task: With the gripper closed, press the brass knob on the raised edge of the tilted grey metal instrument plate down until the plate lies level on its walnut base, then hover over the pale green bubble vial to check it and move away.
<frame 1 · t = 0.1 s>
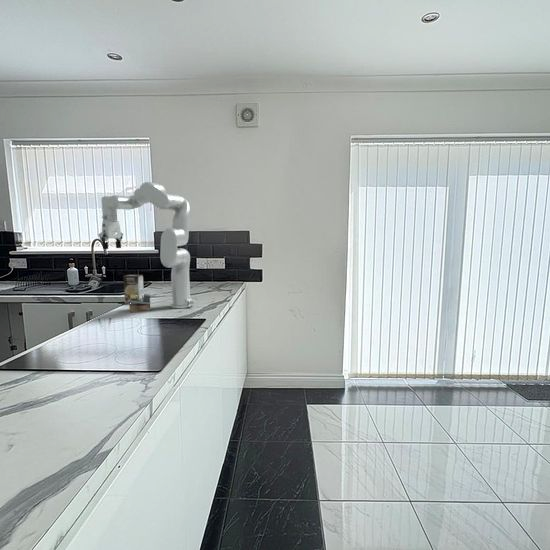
hand: (112, 248, 200), 31 cm above the worktop, tool pointing down, fingers open, 9 cm apart
instrument plate: (140, 298, 181), point 6 cm above the worktop, hinge at 12.0°
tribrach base: (140, 309, 182), on the worktop
coffee box: (134, 303, 200), on the worktop
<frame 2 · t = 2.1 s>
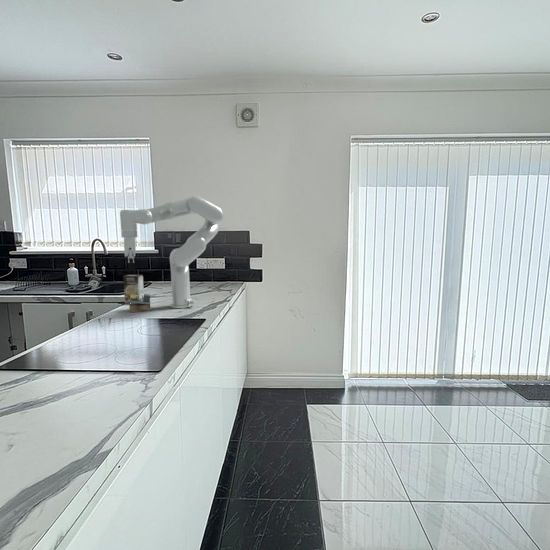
hand: (131, 269, 178), 21 cm above the worktop, tool pointing down, fingers open, 3 cm apart
nothing on the worktop moved.
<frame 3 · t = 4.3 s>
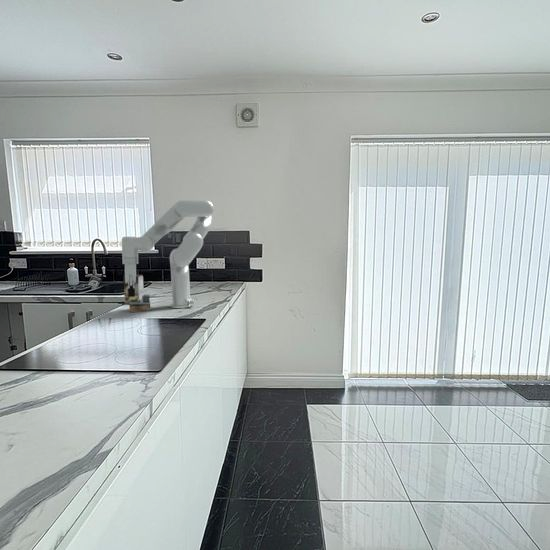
hand: (131, 296, 179), 8 cm above the worktop, tool pointing down, fingers closed
instrument plate: (140, 299, 181), point 6 cm above the worktop, hinge at 6.6°, touching gripper
everything else where it was.
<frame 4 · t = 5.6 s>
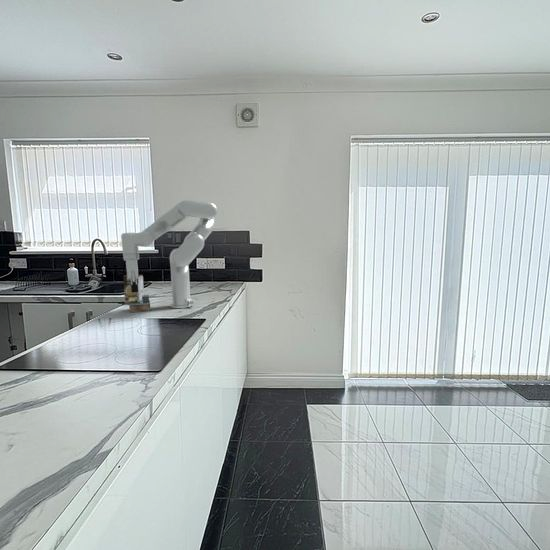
hand: (135, 292, 180), 10 cm above the worktop, tool pointing down, fingers closed
instrument plate: (139, 299, 181), point 5 cm above the worktop, hinge at 1.6°
everything else where it was.
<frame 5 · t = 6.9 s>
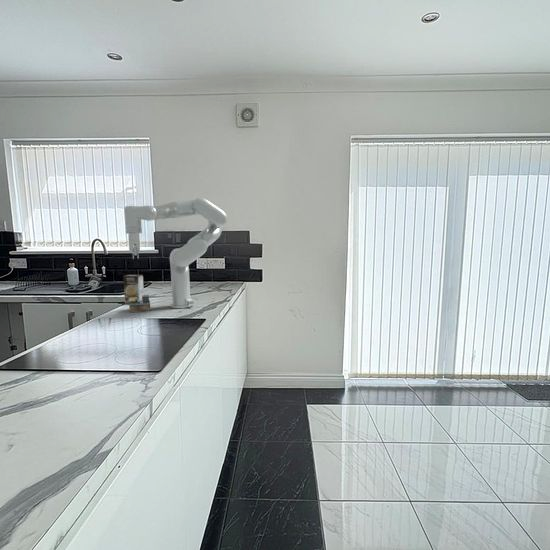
hand: (136, 266, 179), 23 cm above the worktop, tool pointing down, fingers closed
nothing on the worktop moved.
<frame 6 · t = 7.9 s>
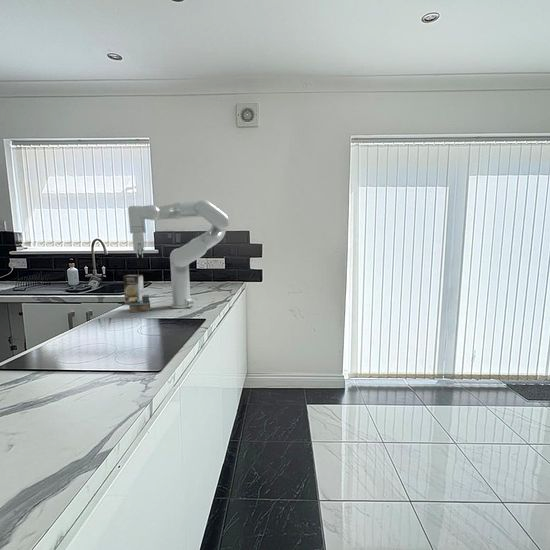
hand: (140, 265, 181), 23 cm above the worktop, tool pointing down, fingers closed
nothing on the worktop moved.
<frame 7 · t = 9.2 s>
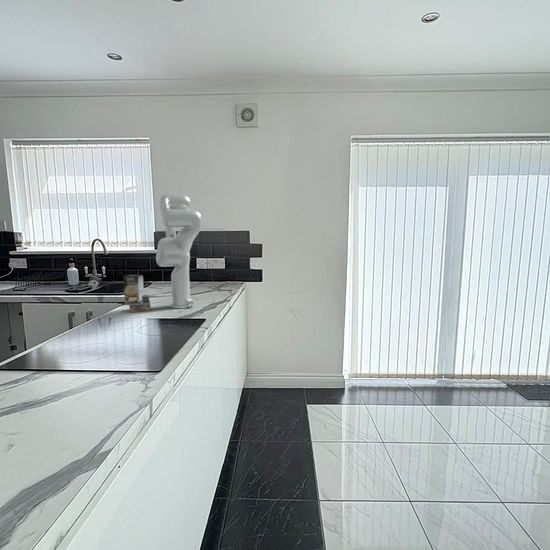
hand: (172, 254, 205), 27 cm above the worktop, tool pointing down, fingers closed
nothing on the worktop moved.
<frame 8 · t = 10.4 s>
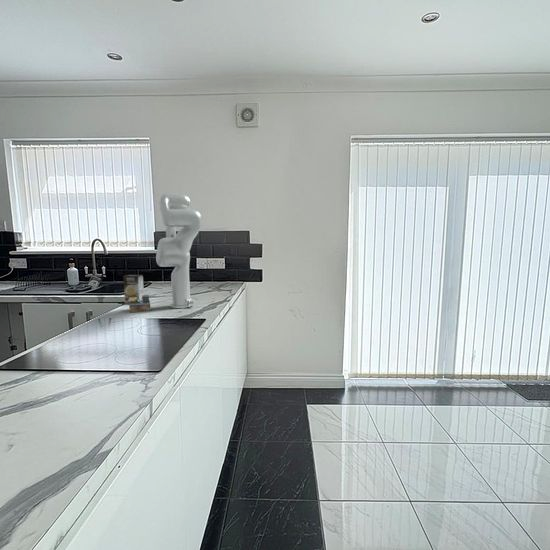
hand: (172, 254, 205), 27 cm above the worktop, tool pointing down, fingers closed
nothing on the worktop moved.
at the end: instrument plate at +2° (first picture: +12°); coffee box moved 0.2 cm from its start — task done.
